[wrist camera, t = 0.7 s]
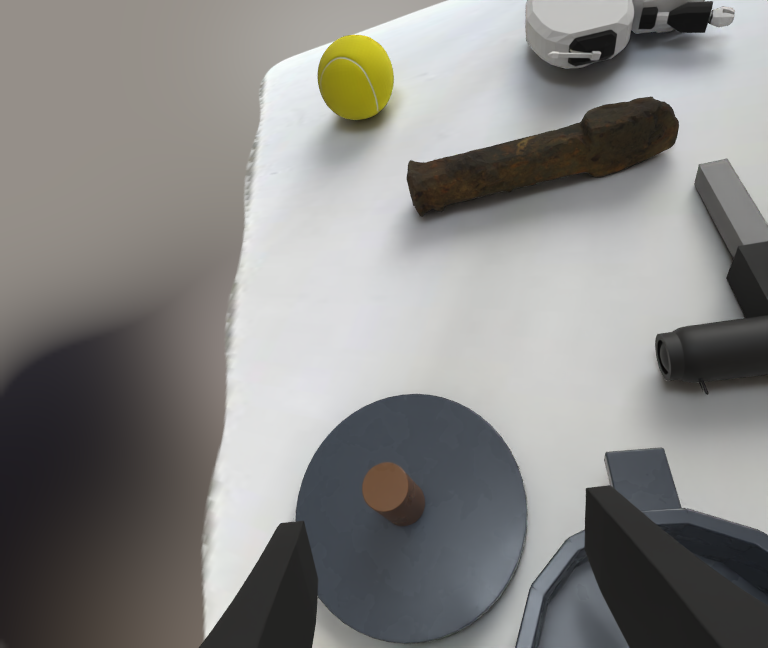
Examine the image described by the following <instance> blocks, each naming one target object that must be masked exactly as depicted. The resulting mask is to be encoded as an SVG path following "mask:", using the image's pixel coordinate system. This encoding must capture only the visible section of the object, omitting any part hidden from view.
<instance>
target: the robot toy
mask: <svg viewBox="0 0 768 648" xmlns="http://www.w3.org/2000/svg"><path fill="white" fill-rule="evenodd" d="M704 1H705V0H527V2H526V22H525V29H526V41H527V43H528V44H529V45H530V47H531V48H532V49H533V51H534V52H535V53H536V54H537V55H538V56H539V57H540V58H542V59H543V60H544V61H546V62H548V63H549V64H551V65H554V66H558V67H562V68H565V69H568V68H582V67H585V66H588V65H590V64H592V63H595V62H599V61H603V60H608V59H611V58H613V57H614V56H615V55H617V54H618V53H619V52H620V51H622V50H623V49H624V48H625V47H626V45H627V43H628V42H629V39H630V34H631V30H632V31H634V32H635V33H636V34H638V33H648V32H655V31H657V33H664V32H670V31H673V30H677V31H679V32H680V33H705V30H706V27H707V24H708V23H709V24H711V25H714V26H716V27H723V26H728V25H730V24H731V23H732V22H733V19H734V13H735V10H734V9H733V8H731V7H724V6H723V7H720V8H717V9H714V10H712V11H711V9H712V5H713V1H707V2H704Z"/></svg>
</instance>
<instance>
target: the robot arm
mask: <svg viewBox="0 0 768 648" xmlns="http://www.w3.org/2000/svg"><path fill="white" fill-rule="evenodd" d="M584 550H585V552H586V555H587V558H588V560H589V563H590V566H591V568H592V571H593V574H594V576H595V579H596V581H597V584H598V586H599V589H600V591H601V593H602V595H603V597H604V599H605V601H606V603H607V605H608V607H609V609H610V611H611V613H612V615H613V617H614V619H615V621H616V623H617V625H618V627H619V628H620V630H621V632H622V634H623V636H624V638H625V640H626V642H627V644H628V646H629V648H768V606H767V605H766V604H764V603H763V602H761V601H760V600H758V599H757V598H755V597H753V596H752V595H750V594H749V593H747V592H746V591H744V590H743V589H741V588H740V587H738V586H737V585H735V584H734V583H732V582H731V581H729V580H728V579H727V578H725V577H724V576H722V575H721V574H720V573H718V572H717V571H716V570H714V569H713V568H711V567H710V566H709V565H707V564H706V563H705V562H703V561H702V560H701V559H699V558H698V557H697V556H695V555H694V554H693V553H691V552H690V551H689V550H688V549H686V548H685V547H684V546H683V545H681V544H680V543H679V542H678V541H676V540H675V539H674V538H673V537H671V536H670V535H669V534H668V533H666V532H665V531H664V530H663V529H662V528H660V527H659V526H658V525H657V524H655V523H654V522H653V521H652V520H651V519H650V518H648V517H647V516H646V515H645V514H644V513H642V512H641V511H640V510H639V509H638V508H637V507H635V506H634V505H633V504H632V503H631V502H630V501H628V500H627V499H626V498H625V497H624V496H623V495H622V494H620V493H619V492H618V491H617V490H616V489H614V488H613V487H612V486H611V485H610V486H601V487H592V488H586V511H585V548H584ZM317 596H318V576H317V572H316V568H315V563H314V559H313V555H312V551H311V547H310V543H309V539H308V535H307V531H306V527H305V523H304V521H296V522H288V523H281V524H280V525H279V526H278V527H277V529H276V530H275V532H274V534H273V536H272V537H271V539H270V541H269V543H268V545H267V546H266V548H265V550H264V551H263V553H262V555H261V557H260V558H259V560H258V562H257V563H256V565H255V567H254V568H253V570H252V571H251V573H250V575H249V576H248V578H247V579H246V581H245V582H244V584H243V586H242V587H241V589H240V590H239V592H238V593H237V595H236V597H235V598H234V600H233V601H232V603H231V604H230V605H229V607H228V608H227V610H226V611H225V613H224V614H223V615H222V617H221V618H220V620H219V621H218V622H217V624H216V625H215V627H214V628H213V630H212V631H211V632H210V634H209V635H208V636H207V638H206V639H205V640H204V642H203V643H202V644H201V646H200V647H199V648H312V644H313V638H314V631H315V625H316V614H317Z"/></svg>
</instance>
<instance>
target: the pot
mask: <svg viewBox="0 0 768 648" xmlns="http://www.w3.org/2000/svg"><path fill="white" fill-rule="evenodd" d="M604 461H605V465H606V470H607V474H608V478H609V483H610V485H611V486H612V487H613V488H614V489H616V490H617V491H618V492H619V493H620V494H622V495H623V496H624V497H625V498H626V499H627V500H628V501H630V502H631V503H632V504H633V505H634V506H635V507H637V508H638V509H639V510H640V511H641V512H642V513H644V514H645V515H646V516H647V517H648V518H650V519H651V520H652V521H653V522H654V523H655V524H657V525H658V526H659V527H660V528H662V529H663V530H664V531H665V532H666V533H668V534H669V535H670V536H671V537H673V538H674V539H675V540H676V541H678V542H679V543H680V544H681V545H683V546H684V547H685V548H686V549H688V550H689V551H690V552H691V553H693V554H694V555H695V556H697V557H698V558H699V559H701V560H702V561H703V562H705V563H706V564H707V565H709V566H710V567H711V568H713V569H714V570H716V571H717V572H718V573H720V574H721V575H722V576H724V577H725V578H727V579H728V580H729V581H731V582H732V583H734V584H735V585H737V586H738V587H740V588H741V589H743V590H744V591H746V592H747V593H749V594H750V595H752V596H753V597H755V598H757V599H758V600H760V601H761V602H763V603H764V604H766V605H767V606H768V535H767V534H765V533H764V532H762V531H759V530H758V529H754V528H751V527H748V526H744V525H741V524H738V523H734V522H731V521H728V520H724V519H721V518H718V517H714V516H711V515H708V514H704V513H701V512H698V511H694V510H691V509H686V508H681V504H680V501H679V498H678V494H677V491H676V488H675V484H674V481H673V478H672V474H671V471H670V467H669V464H668V461H667V457H666V454H665V451H664V449H663V448H650V449H638V450H625V451H613V452H606V453H605V458H604ZM584 548H585V530H583V531H581V532H579V533H577V534H575V535H573V536H571V537H569V538H568V539H567V540H566V541H565V542H564V543H563V545H562V546H561V547H560V548H559V550H558V551H557V552H556V554H555V555H554V556H553V558H552V559H551V560H550V561H549V563H548V564H547V565H546V567H545V568H544V569H543V571H542V572H541V573H540V574H539V576H538V577H537V578H536V580H535V581H534V582H533V583H532V585H531V587H530V589H529V594H528V598H527V602H526V606H525V610H524V614H523V618H522V622H521V626H520V630H519V634H518V638H517V642H516V646H515V648H629V646H628V644H627V642H626V640H625V638H624V636H623V634H622V632H621V630H620V628H619V627H618V625H617V623H616V621H615V619H614V617H613V615H612V613H611V611H610V609H609V607H608V605H607V603H606V601H605V599H604V597H603V595H602V593H601V591H600V589H599V586H598V584H597V581H596V579H595V576H594V574H593V571H592V568H591V566H590V563H589V560H588V558H587V555H586V552H585V550H584Z"/></svg>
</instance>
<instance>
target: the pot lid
mask: <svg viewBox="0 0 768 648" xmlns="http://www.w3.org/2000/svg"><path fill="white" fill-rule="evenodd" d="M296 521H304V523H305V527H306V531H307V535H308V539H309V543H310V547H311V551H312V555H313V559H314V563H315V568H316V572H317V576H318V597H319V598H320V600H321V601H322V602H323V603H324V604H325V606H326V607H327V608H328V609H329V610H330V611H331V612H332V613H333V614H334V615H335V616H336V617H338V618H339V619H340V620H341V621H342V622H343V623H345V624H347V625H348V626H350V627H351V628H353V629H354V630H356V631H358V632H360V633H362V634H365V635H367V636H369V637H372V638H375V639H379V640H383V641H387V642H394V643H405V644H409V643H424V642H429V641H433V640H437V639H442V638H444V637H447V636H449V635H451V634H454V633H456V632H459V631H460V630H462V629H464V628H465V627H467V626H469V625H470V624H472V623H474V622H475V621H476V620H477V619H478V618H480V617H481V616H482V615H483V614H484V613H486V612H487V611H488V610H489V609H490V608H491V606H492V605H493V604H494V603H495V602H496V601H497V600H498V599H499V598H500V596H501V595H502V593H503V592H504V590H505V589H506V587H507V586H508V584H509V583H510V581H511V579H512V577H513V575H514V572H515V570H516V568H517V566H518V563H519V560H520V557H521V554H522V551H523V547H524V542H525V537H526V530H527V503H526V495H525V490H524V485H523V480H522V477H521V474H520V471H519V468H518V466H517V463H516V461H515V459H514V457H513V455H512V453H511V451H510V449H509V448H508V446H507V445H506V443H505V442H504V440H503V439H502V437H501V436H500V435H499V434H498V433H497V431H496V430H495V429H494V428H493V427H492V426H491V425H490V424H489V423H488V422H487V421H485V420H484V419H483V418H482V417H481V416H480V415H478V414H477V413H475V412H474V411H472V410H470V409H469V408H467V407H465V406H463V405H461V404H459V403H457V402H454V401H451V400H448V399H446V398H442V397H437V396H432V395H423V394H408V395H399V396H393V397H388V398H385V399H382V400H379V401H376V402H374V403H371V404H369V405H367V406H365V407H363V408H361V409H359V410H358V411H356V412H354V413H353V414H351V415H350V416H349V417H347V418H346V419H345V420H343V421H342V422H341V423H340V424H339V425H338V426H337V427H336V428H335V429H334V430H333V431H332V432H331V433H330V434H329V435H328V436H327V437H326V439H325V440H324V441H323V442H322V444H321V445H320V447H319V448H318V450H317V451H316V453H315V454H314V456H313V458H312V460H311V462H310V464H309V466H308V468H307V470H306V473H305V475H304V478H303V480H302V484H301V488H300V491H299V495H298V502H297V508H296Z"/></svg>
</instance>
